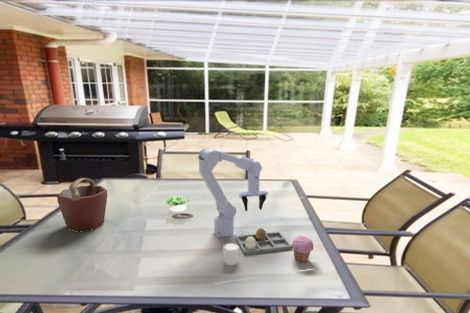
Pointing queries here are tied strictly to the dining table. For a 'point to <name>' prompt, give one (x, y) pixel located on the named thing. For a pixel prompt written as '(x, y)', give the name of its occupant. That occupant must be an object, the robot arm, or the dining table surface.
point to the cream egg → (250, 243)
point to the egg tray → (265, 243)
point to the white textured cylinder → (231, 253)
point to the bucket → (83, 205)
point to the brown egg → (260, 235)
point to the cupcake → (302, 248)
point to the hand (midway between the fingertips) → (253, 209)
